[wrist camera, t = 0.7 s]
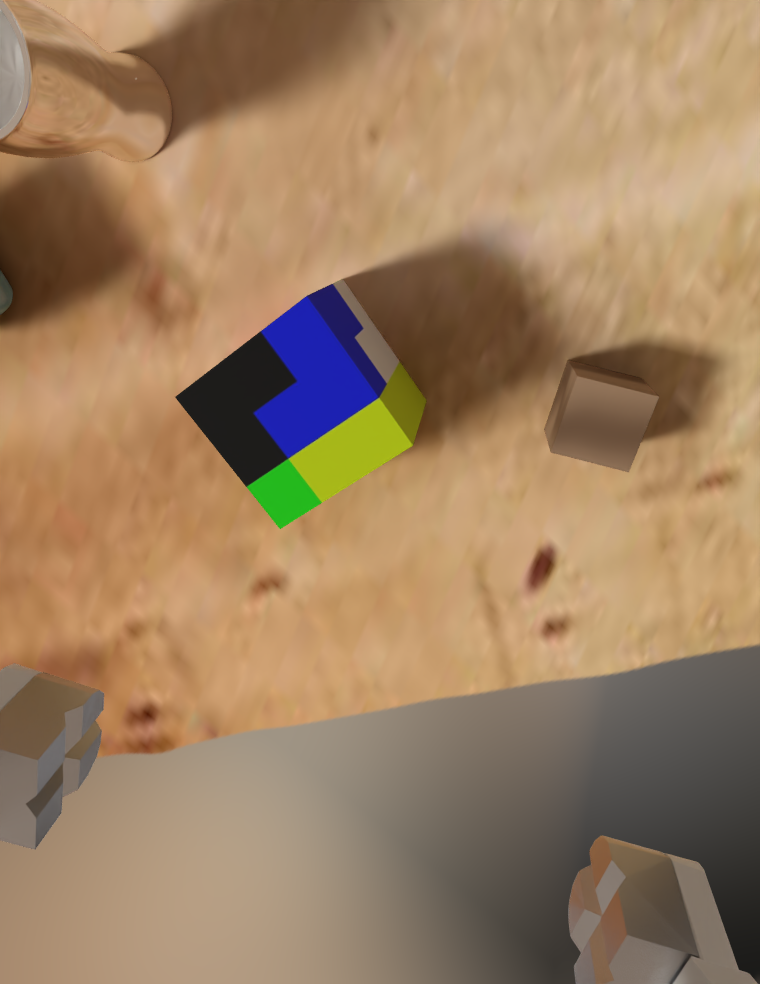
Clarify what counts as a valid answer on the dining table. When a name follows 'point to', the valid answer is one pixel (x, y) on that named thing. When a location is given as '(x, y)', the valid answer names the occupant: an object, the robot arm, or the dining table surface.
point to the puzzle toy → (308, 404)
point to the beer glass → (74, 91)
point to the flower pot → (5, 293)
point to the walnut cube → (599, 415)
